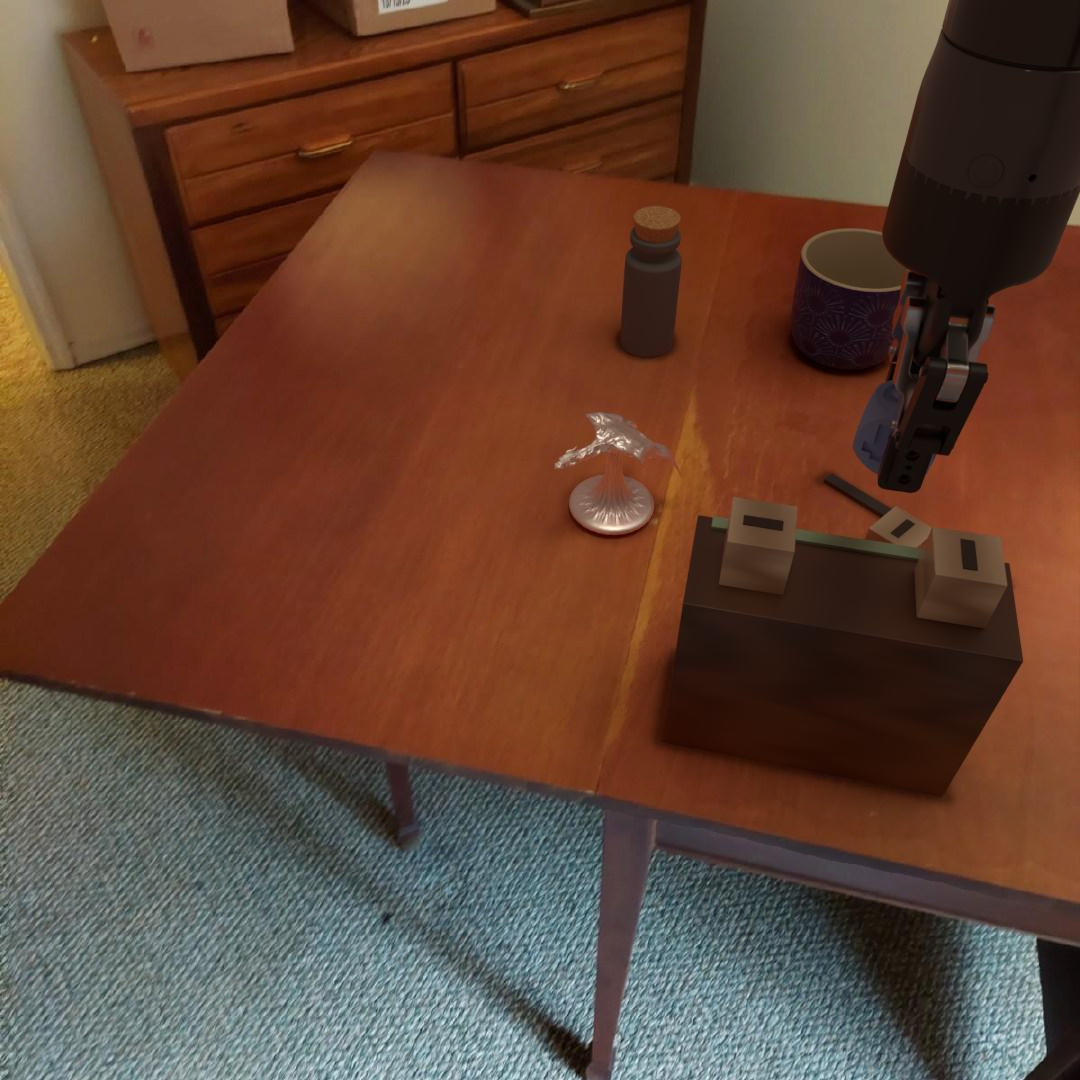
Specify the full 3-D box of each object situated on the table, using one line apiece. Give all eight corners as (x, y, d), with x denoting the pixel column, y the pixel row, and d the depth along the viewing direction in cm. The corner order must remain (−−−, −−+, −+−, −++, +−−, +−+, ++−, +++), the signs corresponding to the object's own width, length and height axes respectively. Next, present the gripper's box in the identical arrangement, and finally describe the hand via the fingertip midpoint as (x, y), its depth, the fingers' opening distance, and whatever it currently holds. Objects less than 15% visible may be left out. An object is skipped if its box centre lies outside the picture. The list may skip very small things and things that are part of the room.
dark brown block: (937, 704, 73) (1033, 517, 58) (942, 796, 67) (1050, 617, 53) (675, 657, 76) (705, 469, 62) (661, 742, 71) (689, 558, 56)
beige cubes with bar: (1005, 582, 81) (1022, 549, 78) (960, 626, 78) (976, 594, 75) (831, 476, 91) (840, 443, 88) (784, 512, 87) (792, 479, 84)
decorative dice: (917, 490, 51) (938, 433, 49) (846, 464, 53) (862, 407, 50) (940, 450, 54) (961, 392, 51) (871, 426, 55) (888, 369, 52)
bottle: (671, 360, 104) (685, 233, 93) (617, 356, 104) (624, 228, 93) (674, 330, 108) (688, 204, 97) (622, 325, 108) (630, 200, 97)
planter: (801, 305, 111) (820, 217, 103) (909, 333, 107) (938, 243, 99) (767, 362, 103) (785, 271, 95) (882, 394, 99) (911, 302, 91)
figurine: (683, 508, 88) (694, 428, 81) (580, 565, 83) (582, 485, 76) (629, 463, 92) (635, 383, 85) (528, 514, 87) (526, 434, 80)
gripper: (1119, 241, 36) (976, 555, 48) (1065, 94, 45) (957, 386, 57) (910, 221, 37) (822, 531, 49) (901, 82, 47) (830, 370, 59)
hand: (896, 451), depth 53 cm, fingers closed on decorative dice, 5 cm apart
